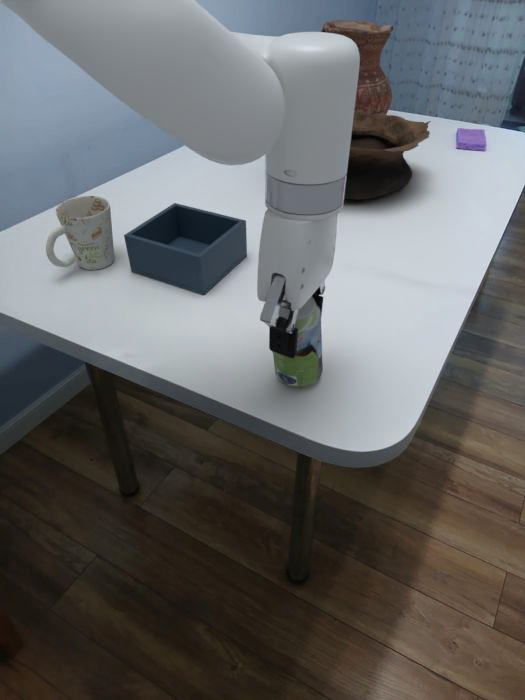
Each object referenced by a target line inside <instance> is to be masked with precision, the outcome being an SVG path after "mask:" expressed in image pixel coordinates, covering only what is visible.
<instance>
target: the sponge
mask: <svg viewBox="0 0 525 700" xmlns="http://www.w3.org/2000/svg"><path fill="white" fill-rule="evenodd" d="M455 134H456V148H457V149H461V150H471V151H480V152H481V151H482V152H485V151H486V147H487V145H488V144H487V138H486V131H485V129H481V128H480V129H479V128H478V129H477V128H464V127H463V128H462V127H457V130H456V133H455Z"/></svg>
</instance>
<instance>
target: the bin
mask: <svg viewBox="0 0 525 700" xmlns="http://www.w3.org/2000/svg"><path fill="white" fill-rule="evenodd" d="M123 238H124V243H125V247H126V253H127V257H128V262H129V267H130V270H131V273H134V274H137V275H140V276H144V277H146V278H149V279H152V280H155V281H158V282H162V283H164V284H168V285H171V286H174V287H178V288H180V289H184V290H187V291H189V292H193V293H195V294H199V295H203V296H205V295H206V294H208V292H210V291H211V290H212V289H213V287H215V286H216V285H217V284H218V283H219V282H221V280H223V279H224V278H225V277H226V276H228V274H229V273H230V272H231V271H233V269H235V268H236V267H237V266H238V265H239V264H240V263H241V262H243V261H244V260H245V259H246V258H247V256H248V249H247V248H248V242H247V241H248V239H247V238H248V237H247V220H245V219H241V218H237V217H233V216H229V215H225V214H221V213H217V212H213V211H209V210H205V209H201V208H196V207H193V206H189V205H185V204H181V203H177V202H173V203H172V204H170V205H169V206H167V207H165V208H164V209H163V210H161V211H160V212H158V213H157V214H154V215H153V216H152V217H150V218H149V219H147V220H145V221H144V222H143V223H141V224H139V225H138V226H136V227H134V228H133V229H131V230H130V231H128V232H127V233H125V234H123Z"/></svg>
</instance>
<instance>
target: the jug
mask: <svg viewBox="0 0 525 700" xmlns="http://www.w3.org/2000/svg"><path fill="white" fill-rule="evenodd" d="M393 31H394V26H393V25H391V24H384V25H378V24H376V23H374V22H371V21H364V20H343V19H336V20H331V21H324V24H323V25H322V28H321V31H320V32H326V33H333V34H339V35H343V36H346V37H348V38H350V39H352V40H353V41H354V43H355V44H356V45H357V47H358V50H359V55H360V64H359V75H358V83H357V92H356V100H355V109H354V110H363V111H364V112H365V113H367V114H368V115H369V116H375V115H378V114H381V113H384V114H386V115H388V112H389V110H390V108H391V105H392V102H393V92H392V87H391V85H390V82H389V80H388V77H387V76H386V74H385V72H384V71H383V68H382V67H381V57H382V52H383V49H384V47H385V45H386V44H387V42H388V40H389V38H390V36H391V34H392V32H393Z"/></svg>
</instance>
